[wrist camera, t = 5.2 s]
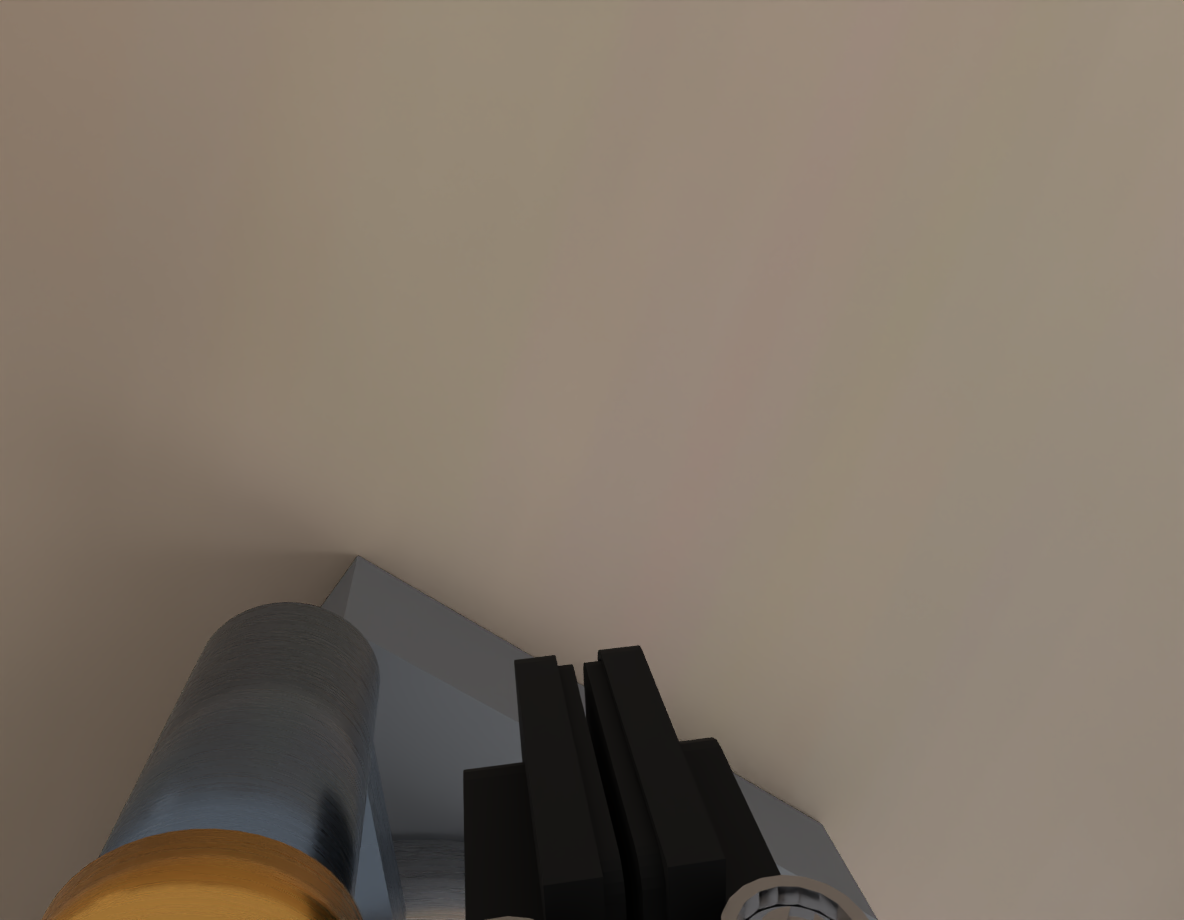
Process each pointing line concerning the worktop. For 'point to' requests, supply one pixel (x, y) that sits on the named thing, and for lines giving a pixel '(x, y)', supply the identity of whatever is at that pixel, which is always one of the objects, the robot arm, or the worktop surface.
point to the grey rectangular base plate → (491, 722)
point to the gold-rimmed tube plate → (268, 794)
